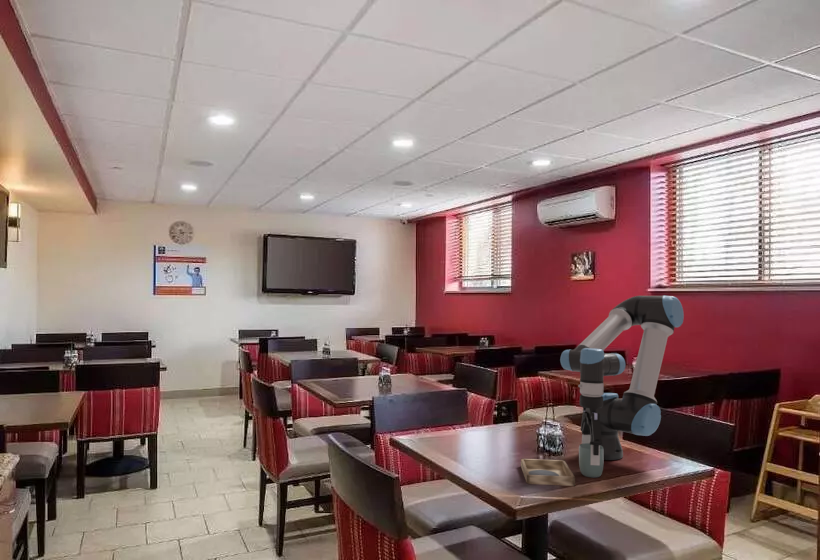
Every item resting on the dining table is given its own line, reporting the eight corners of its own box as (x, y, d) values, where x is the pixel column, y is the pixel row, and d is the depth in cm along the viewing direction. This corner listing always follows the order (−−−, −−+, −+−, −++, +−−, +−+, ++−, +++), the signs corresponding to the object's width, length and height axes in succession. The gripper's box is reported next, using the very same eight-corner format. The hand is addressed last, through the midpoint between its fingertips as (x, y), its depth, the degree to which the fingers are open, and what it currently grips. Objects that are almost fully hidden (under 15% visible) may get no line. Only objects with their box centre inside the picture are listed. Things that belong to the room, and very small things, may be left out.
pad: (556, 471, 194) (556, 470, 194) (561, 480, 184) (561, 479, 184) (526, 470, 195) (526, 469, 195) (529, 479, 185) (529, 478, 185)
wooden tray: (564, 469, 198) (564, 460, 198) (574, 487, 179) (575, 477, 179) (520, 467, 199) (520, 458, 199) (526, 485, 181) (526, 475, 181)
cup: (598, 473, 195) (598, 443, 195) (606, 480, 187) (607, 449, 187) (575, 472, 195) (576, 443, 195) (583, 480, 187) (583, 449, 187)
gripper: (572, 389, 204) (571, 449, 203) (587, 400, 180) (586, 469, 179) (594, 390, 204) (593, 450, 203) (612, 401, 179) (611, 470, 178)
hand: (590, 459), depth 191 cm, fingers open, 13 cm apart
